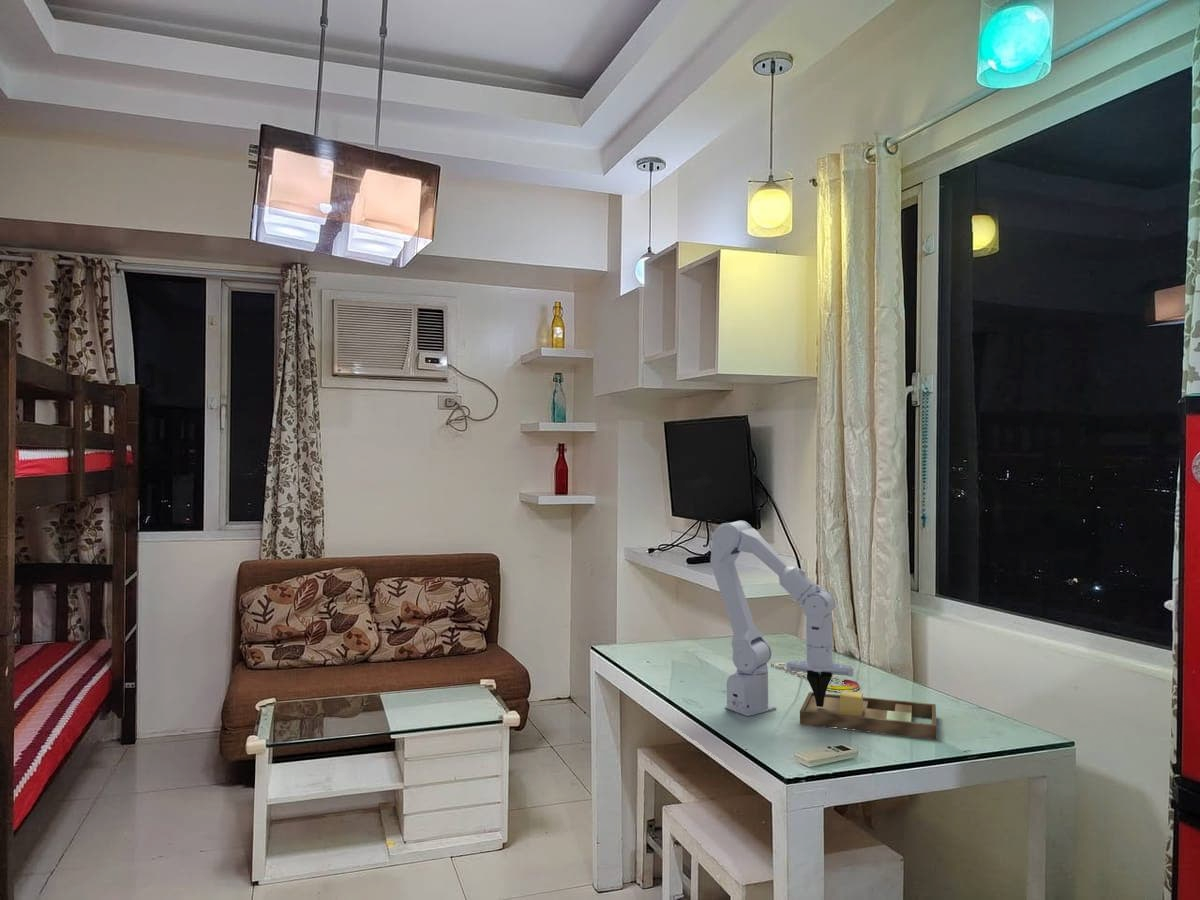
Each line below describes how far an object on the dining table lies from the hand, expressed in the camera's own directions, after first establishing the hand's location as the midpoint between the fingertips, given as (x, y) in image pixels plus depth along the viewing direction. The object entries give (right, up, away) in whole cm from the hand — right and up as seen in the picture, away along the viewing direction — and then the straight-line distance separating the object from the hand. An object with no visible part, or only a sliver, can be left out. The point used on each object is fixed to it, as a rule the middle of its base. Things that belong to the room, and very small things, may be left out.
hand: (820, 705), depth 185 cm
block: (+6, -1, -2) cm, 7 cm away
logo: (+8, -4, +35) cm, 36 cm away
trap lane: (+11, -3, -1) cm, 11 cm away
